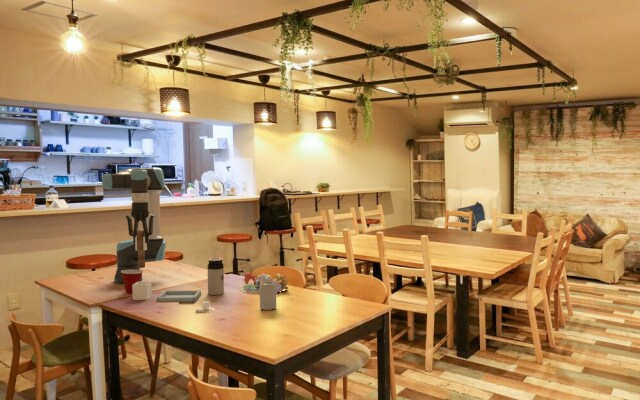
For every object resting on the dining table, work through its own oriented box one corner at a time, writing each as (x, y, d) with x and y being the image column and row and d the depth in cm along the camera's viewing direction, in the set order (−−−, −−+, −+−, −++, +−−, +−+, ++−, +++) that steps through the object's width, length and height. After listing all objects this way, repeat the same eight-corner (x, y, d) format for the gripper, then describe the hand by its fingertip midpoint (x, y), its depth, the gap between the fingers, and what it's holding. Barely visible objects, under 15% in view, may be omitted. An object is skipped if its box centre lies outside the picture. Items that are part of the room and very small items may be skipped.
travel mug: (204, 294, 252) (204, 259, 251) (213, 291, 259) (213, 256, 258) (218, 296, 249) (217, 260, 248) (227, 292, 256) (226, 257, 255)
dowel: (139, 266, 243) (138, 230, 242) (146, 266, 243) (145, 230, 242) (137, 267, 240) (136, 230, 239) (143, 267, 240) (142, 230, 239)
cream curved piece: (197, 314, 219) (197, 305, 219) (193, 309, 226) (192, 301, 226) (216, 311, 223) (216, 302, 223) (212, 307, 230) (211, 298, 230)
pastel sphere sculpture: (281, 283, 278) (281, 267, 277) (294, 293, 256) (294, 275, 255) (237, 287, 269) (237, 270, 268) (246, 297, 247) (246, 279, 246)
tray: (165, 295, 251) (165, 290, 250) (201, 295, 251) (200, 290, 251) (156, 303, 237) (156, 297, 236) (194, 302, 237) (194, 297, 237)
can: (279, 307, 228) (278, 281, 227) (272, 311, 221) (271, 285, 220) (264, 306, 230) (263, 280, 230) (257, 310, 223) (256, 284, 223)
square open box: (137, 297, 247) (137, 281, 246) (152, 297, 247) (151, 281, 246) (132, 301, 240) (132, 284, 239) (147, 301, 240) (147, 284, 239)
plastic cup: (147, 293, 255) (146, 270, 254) (125, 297, 248) (125, 273, 247) (139, 289, 263) (138, 267, 262) (118, 293, 256) (117, 270, 255)
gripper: (120, 202, 236) (121, 251, 237) (154, 202, 236) (155, 251, 238) (125, 201, 243) (127, 248, 245) (159, 201, 244) (160, 248, 245)
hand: (141, 249), depth 241 cm, fingers closed on dowel, 3 cm apart
